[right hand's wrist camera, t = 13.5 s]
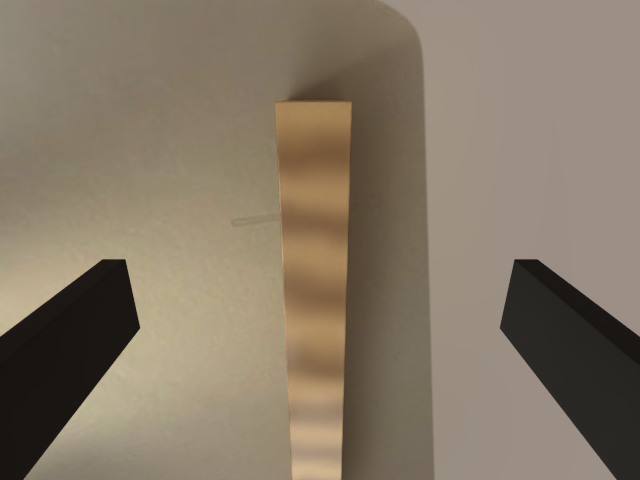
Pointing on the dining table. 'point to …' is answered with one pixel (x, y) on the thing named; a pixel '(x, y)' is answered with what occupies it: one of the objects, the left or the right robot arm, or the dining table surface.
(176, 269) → the dining table surface
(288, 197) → the bar
